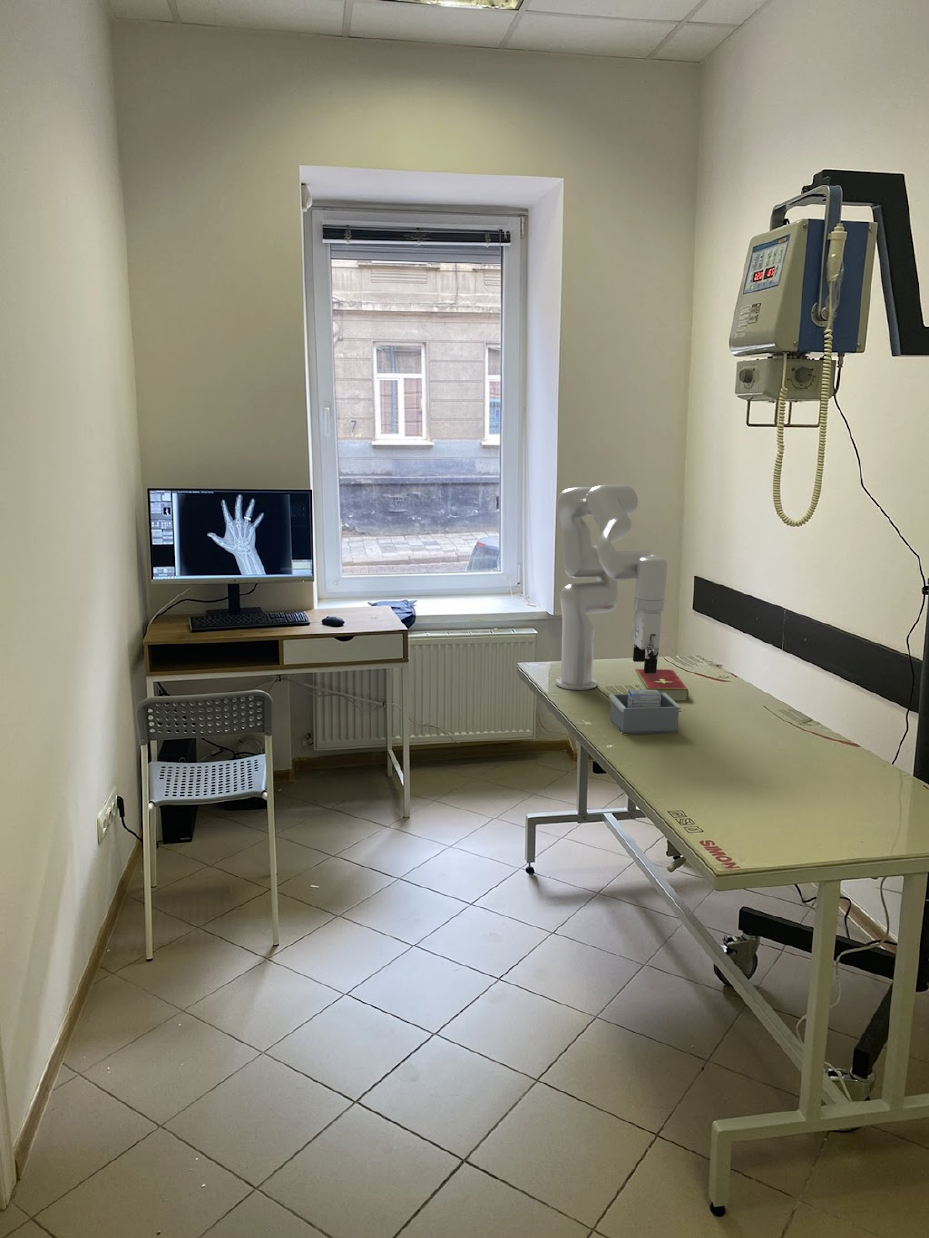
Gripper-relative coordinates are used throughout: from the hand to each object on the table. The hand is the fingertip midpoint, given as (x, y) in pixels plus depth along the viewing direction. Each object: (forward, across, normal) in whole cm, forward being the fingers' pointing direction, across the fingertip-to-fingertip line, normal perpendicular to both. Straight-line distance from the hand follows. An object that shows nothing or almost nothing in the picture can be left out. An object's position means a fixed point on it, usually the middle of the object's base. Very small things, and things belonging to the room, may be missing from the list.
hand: (644, 667), depth 240 cm
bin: (+16, +2, 0) cm, 16 cm away
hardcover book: (+18, -30, +16) cm, 39 cm away
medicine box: (+15, +1, 0) cm, 15 cm away
